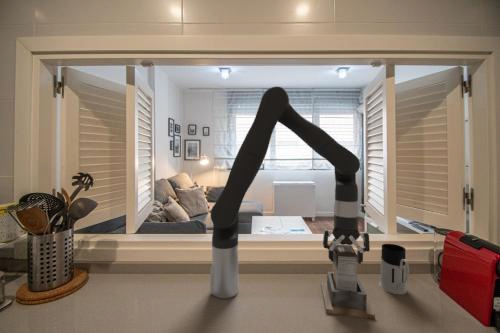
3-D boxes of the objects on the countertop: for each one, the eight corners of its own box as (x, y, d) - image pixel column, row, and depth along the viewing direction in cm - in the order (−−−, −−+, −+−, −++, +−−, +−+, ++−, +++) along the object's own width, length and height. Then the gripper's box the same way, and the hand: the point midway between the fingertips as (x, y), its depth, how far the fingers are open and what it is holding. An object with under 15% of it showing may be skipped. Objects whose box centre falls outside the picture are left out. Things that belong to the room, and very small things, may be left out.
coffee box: (332, 288, 85) (332, 243, 84) (351, 289, 84) (351, 245, 83) (336, 303, 76) (336, 254, 75) (357, 305, 75) (358, 255, 74)
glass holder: (398, 281, 91) (399, 243, 91) (421, 304, 77) (422, 259, 77) (375, 280, 92) (375, 242, 92) (393, 303, 78) (394, 258, 78)
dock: (325, 312, 73) (326, 293, 73) (321, 285, 89) (321, 269, 89) (374, 318, 70) (375, 298, 70) (361, 289, 86) (361, 272, 86)
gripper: (324, 215, 76) (324, 264, 77) (372, 217, 73) (371, 268, 74) (322, 210, 84) (322, 255, 84) (366, 212, 81) (365, 258, 81)
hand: (345, 261), depth 79 cm, fingers open, 8 cm apart
